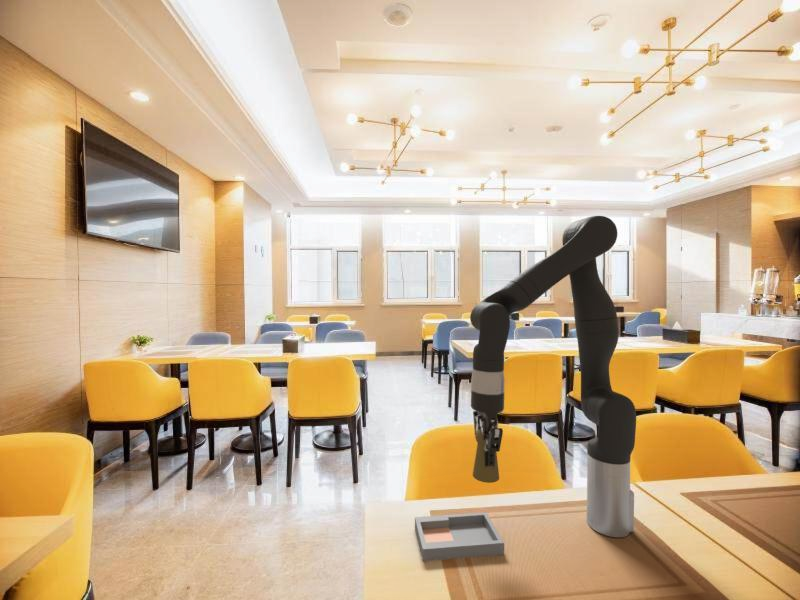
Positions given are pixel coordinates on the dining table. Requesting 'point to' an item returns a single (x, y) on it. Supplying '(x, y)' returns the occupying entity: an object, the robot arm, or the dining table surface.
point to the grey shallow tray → (457, 536)
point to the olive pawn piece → (480, 471)
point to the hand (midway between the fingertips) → (485, 462)
